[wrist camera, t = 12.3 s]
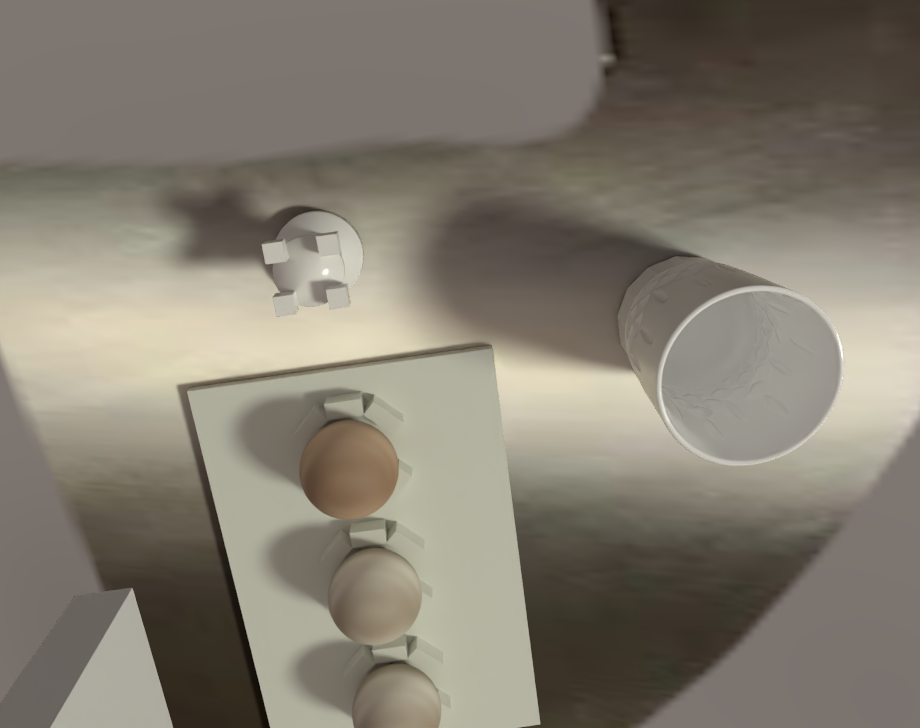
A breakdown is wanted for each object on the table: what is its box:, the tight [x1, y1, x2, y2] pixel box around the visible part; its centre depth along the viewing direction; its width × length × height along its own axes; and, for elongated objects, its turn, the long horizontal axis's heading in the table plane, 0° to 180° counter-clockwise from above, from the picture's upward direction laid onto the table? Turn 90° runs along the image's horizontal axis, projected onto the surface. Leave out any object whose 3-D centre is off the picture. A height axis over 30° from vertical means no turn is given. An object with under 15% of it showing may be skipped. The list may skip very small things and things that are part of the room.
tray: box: [187, 345, 540, 728], centre depth 47 cm, size 24×16×2 cm, turn 8°
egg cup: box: [261, 210, 364, 317], centre depth 40 cm, size 4×4×5 cm
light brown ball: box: [299, 420, 399, 520], centre depth 43 cm, size 5×5×5 cm
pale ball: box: [352, 664, 441, 728], centre depth 47 cm, size 5×5×5 cm
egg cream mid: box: [328, 548, 422, 645], centre depth 45 cm, size 5×5×5 cm
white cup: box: [617, 256, 844, 466], centre depth 40 cm, size 8×8×10 cm
